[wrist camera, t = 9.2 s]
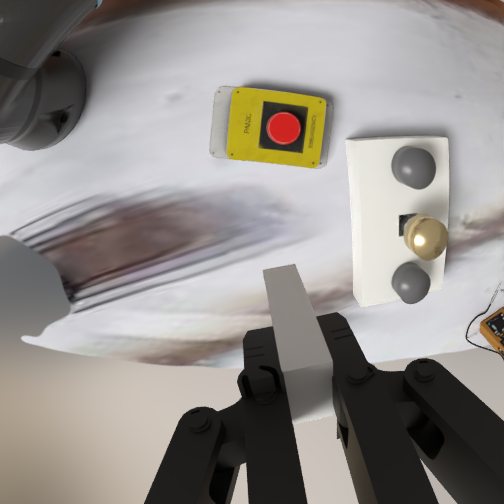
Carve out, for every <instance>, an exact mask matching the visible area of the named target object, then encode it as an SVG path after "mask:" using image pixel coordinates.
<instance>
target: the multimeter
mask: <svg viewBox="0 0 504 504" xmlns="http://www.w3.org/2000/svg"><path fill="white" fill-rule="evenodd" d="M500 285H501V284H500ZM500 285H499V287H500ZM499 287H498V289H499ZM498 289H497V291H498ZM497 291H495V294H494V296H493V298H492V300H491V302H490V305H489V307H490V306H491V304H492V302H493V301H494V299H495V297H496V295H497V293H498V292H497ZM501 292H504V291H501ZM489 307H488V309H489ZM488 309H487V311H488ZM487 311H486V312H487ZM486 312H485V313H486ZM485 313H482V314H480V315H483V314H485ZM480 315H478V316H480ZM478 316H477V317H478ZM477 317H476V318H477ZM476 318H475V319H476ZM475 319H474V320H475ZM474 320H473V321H474ZM473 321H472V322H473ZM472 322H471V323H472ZM471 323H470V325H471ZM470 325H469V327H470ZM469 327H468V329H469ZM468 329H467V332H466V340H467V341H468V342H469V343H471V344H473V345H475V346H478V345H476V344H474V343H472V342H470V341H469V340H468V339H467V333H468ZM480 333H481V334H482V335H483V336H484V337H485V338H486V340H487V341H488V342H489V343H490V344H491V345H492V346H493V347H494V349H495V350H496V351H493V350H490V349H487V348H484V347H481V346H478V347H480V348H483V349H487V350H489V351H493V352H496V353H498V354H500V355H501V357H502V358H503V360H504V308H501V309H500V310H499V311H498V312H496V313H495V314H493V315H492V316H490V317H489V318H488V319H486V320H485V321H484V320H483V321H482V322H481V324H480Z"/></svg>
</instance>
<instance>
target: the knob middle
mask: <svg viewBox="0 0 504 504" xmlns="http://www.w3.org/2000/svg"><path fill="white" fill-rule="evenodd" d="M399 228H400V230H401V231H403V232H404V242H405V245H406V246H407V247H408V248H409V249H410V250H411V251H412V252H414V253H415V254H416V255H417V256H418V257H419V258H421V259H422V260H425V261H431V260H434V259H436V258H437V257H439V256H440V255H441V254H442V253H443V251H444V250H445V248H446V245H447V242H448V231H447V228H446V227H445V225H444V224H443V223H441V222H440V221H438V220H436V219H435V218H433V217H431V216H429V215H427V214H418V215H415V216H414V217H412V216H410V215H404V216H402V217H401V218H400V220H399Z"/></svg>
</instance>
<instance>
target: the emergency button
mask: <svg viewBox="0 0 504 504" xmlns="http://www.w3.org/2000/svg"><path fill="white" fill-rule="evenodd" d="M332 114H333V104H332V103H331V102H330V101H328V100H326V99H322V98H320V97H314V96H308V95H302V94H295V93H289V92H281V91H274V90H265V89H256V88H246V87H238V88H236V87H220V88H218V89H217V90H216V92H215V97H214V106H213V116H212V127H211V138H210V149H209V151H210V154H211V155H212V156H213V157H215V158H221V159H232V160H242V161H253V162H263V163H272V164H281V165H290V166H298V167H306V168H315V169H320V168H323V167H324V166H325V164H326V161H327V153H328V146H329V138H330V130H331V122H332Z"/></svg>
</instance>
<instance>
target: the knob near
mask: <svg viewBox="0 0 504 504" xmlns="http://www.w3.org/2000/svg"><path fill="white" fill-rule="evenodd" d="M391 169H392V173H393V175H394V177H395V179H396V180H397V181H398V182H400V183H402V184H404V185H406V186H409V187H411V188H413V189H417V190H421V189H425V188H426V187H428V186H429V185H430V184H431V183H432V181H433V180H434V177H435V174H436V164H435V160H434V158H433V156H432V155H431V154H430V153H429V152H428V151H427V150H425V149H421V148H416V147H410V146H405V147H402V148H400V149H398V150H397V151H396V153H395V154H394V156H393V158H392V163H391Z"/></svg>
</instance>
